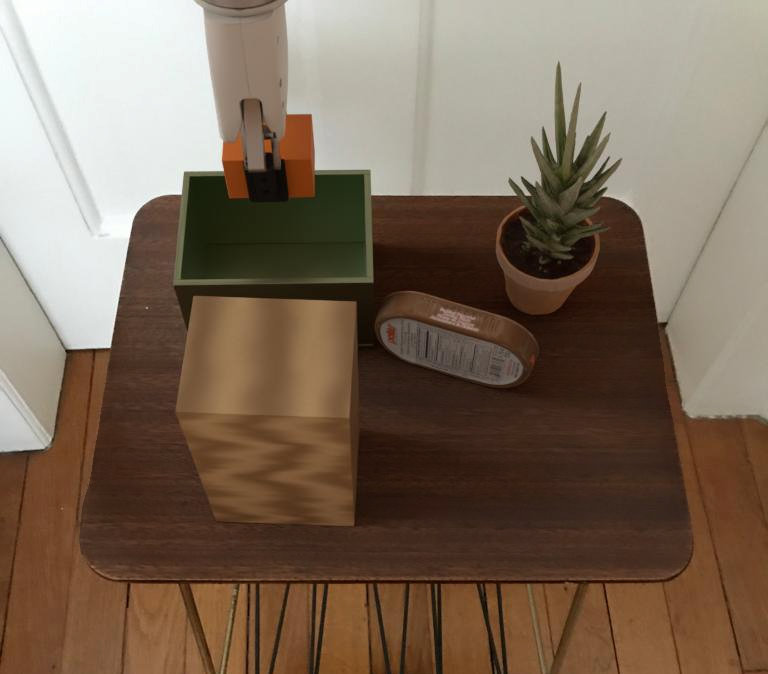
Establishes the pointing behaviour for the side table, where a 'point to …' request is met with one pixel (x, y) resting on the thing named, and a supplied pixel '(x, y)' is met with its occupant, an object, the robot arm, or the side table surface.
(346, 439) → the wood grain block
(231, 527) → the side table surface
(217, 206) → the trash bin
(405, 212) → the side table surface
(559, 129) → the potted plant
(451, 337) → the tin
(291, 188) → the block
